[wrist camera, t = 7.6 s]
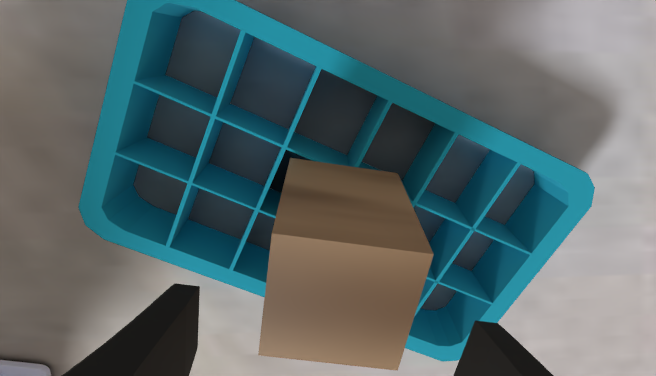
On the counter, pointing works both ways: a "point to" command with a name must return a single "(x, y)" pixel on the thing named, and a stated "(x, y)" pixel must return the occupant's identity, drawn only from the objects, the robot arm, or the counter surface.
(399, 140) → the counter surface
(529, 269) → the ice cube tray
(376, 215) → the walnut block
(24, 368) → the robot arm
